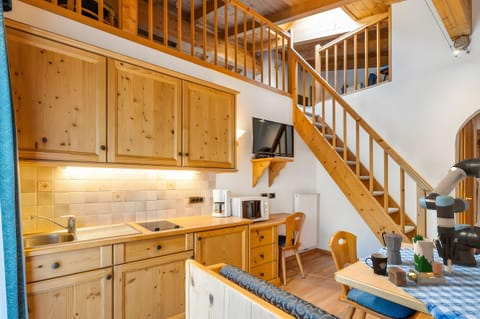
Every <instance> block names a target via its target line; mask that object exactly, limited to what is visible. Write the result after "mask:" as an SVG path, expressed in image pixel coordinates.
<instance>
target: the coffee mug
mask: <svg viewBox="0 0 480 319" xmlns="http://www.w3.org/2000/svg"><path fill="white" fill-rule="evenodd" d="M368 260H371V264H372V265H370V264H369V263H367V261H368ZM387 260H388V256H387V255H386V254H385V253H381V252H380V253H379V252H373V253H370V257H366V258H365V260H364V262H365V264H366V265H367V266H368V267H370V268H371V269H372V271H373V274H374V275H377V276H386V275H387V273H388V263H387Z"/></svg>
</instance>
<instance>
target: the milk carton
mask: <svg viewBox="0 0 480 319" xmlns="http://www.w3.org/2000/svg"><path fill="white" fill-rule="evenodd" d="M412 246H413V259H414V260H413V262H414V270H416V271H417V272H419V273H425V272H433V270H432V262H435V258H434V241H433V240H431V239H429V238H424V237H423V235H418V234H415V235H414V237H412Z"/></svg>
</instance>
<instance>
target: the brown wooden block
mask: <svg viewBox="0 0 480 319" xmlns="http://www.w3.org/2000/svg"><path fill="white" fill-rule="evenodd" d="M387 274H388V281H389V282H390V283H392V284H394V285H395V286H396V287H407V286H408V285H407V271H406V270H404V269H402V268H401V267H399V266H387Z"/></svg>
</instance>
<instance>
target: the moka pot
mask: <svg viewBox="0 0 480 319" xmlns="http://www.w3.org/2000/svg"><path fill="white" fill-rule="evenodd" d="M395 232H396V230H391V232H388V231H387V232H386V231H385V230H384V231H383V232H382V233H381V237H382V241H383V245H384V246H385V247H386V252H385V253H386V254H385V255H387V256H388V260H387V264H390V265H394V266H400V265H402V263H403V261H402V255H401V248H402V242H403V240H404V238H403V235H401V234H400V233H395Z"/></svg>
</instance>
